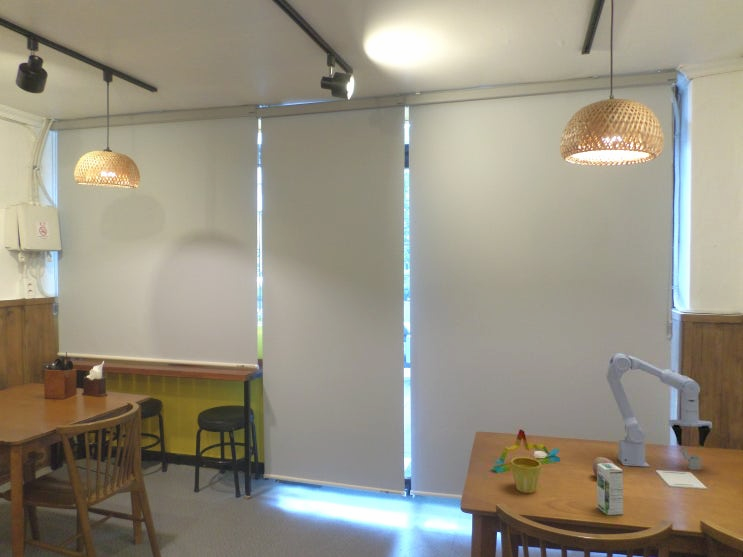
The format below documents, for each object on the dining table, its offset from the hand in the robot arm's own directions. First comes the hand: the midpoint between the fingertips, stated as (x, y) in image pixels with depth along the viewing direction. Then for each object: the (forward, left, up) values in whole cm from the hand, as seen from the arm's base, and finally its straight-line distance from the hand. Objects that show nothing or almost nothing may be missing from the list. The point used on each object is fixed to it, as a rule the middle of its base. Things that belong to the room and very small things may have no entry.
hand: (690, 444), depth 191 cm
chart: (-62, -7, -10) cm, 63 cm away
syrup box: (-39, -42, -10) cm, 58 cm away
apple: (-35, -16, -10) cm, 40 cm away
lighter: (0, 0, -10) cm, 10 cm away
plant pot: (-64, -30, -10) cm, 71 cm away
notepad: (-8, -12, -9) cm, 17 cm away
